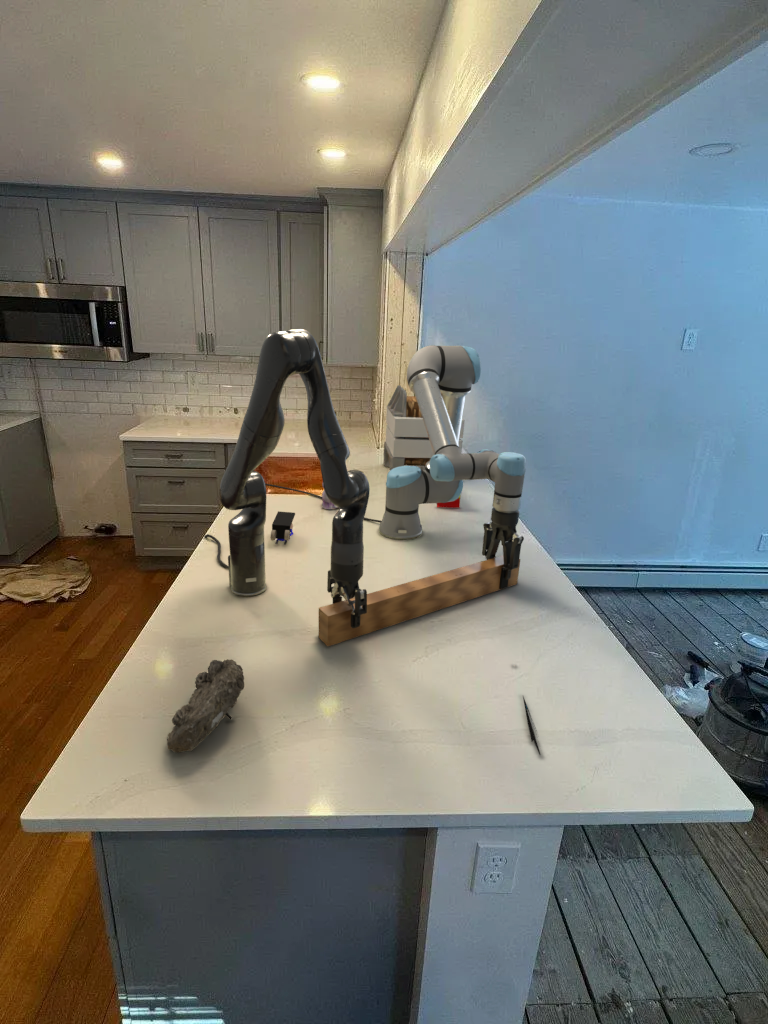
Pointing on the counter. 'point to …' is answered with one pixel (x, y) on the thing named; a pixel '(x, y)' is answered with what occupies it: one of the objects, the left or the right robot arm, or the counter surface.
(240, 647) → the counter surface
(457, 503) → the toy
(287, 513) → the black wheeled block
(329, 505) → the figurine
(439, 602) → the bar
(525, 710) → the feather
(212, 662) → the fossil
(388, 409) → the grey crate
